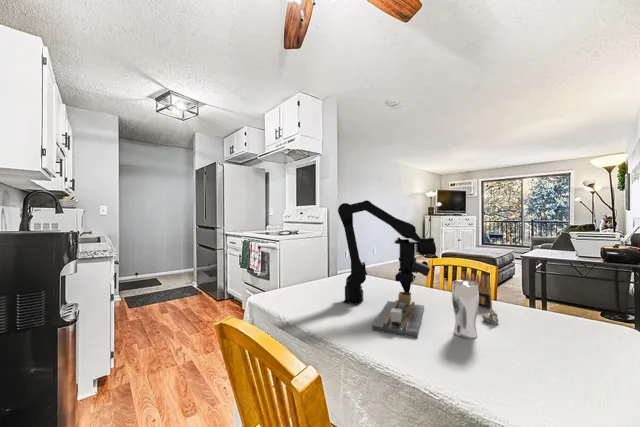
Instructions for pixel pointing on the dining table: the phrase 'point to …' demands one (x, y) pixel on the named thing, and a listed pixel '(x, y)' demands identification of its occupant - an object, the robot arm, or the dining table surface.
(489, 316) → the figurine
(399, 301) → the tan wooden block
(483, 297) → the ammunition clip
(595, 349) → the dining table surface
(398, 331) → the bolt plate
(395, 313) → the fixed leg
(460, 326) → the beer glass
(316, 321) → the dining table surface
